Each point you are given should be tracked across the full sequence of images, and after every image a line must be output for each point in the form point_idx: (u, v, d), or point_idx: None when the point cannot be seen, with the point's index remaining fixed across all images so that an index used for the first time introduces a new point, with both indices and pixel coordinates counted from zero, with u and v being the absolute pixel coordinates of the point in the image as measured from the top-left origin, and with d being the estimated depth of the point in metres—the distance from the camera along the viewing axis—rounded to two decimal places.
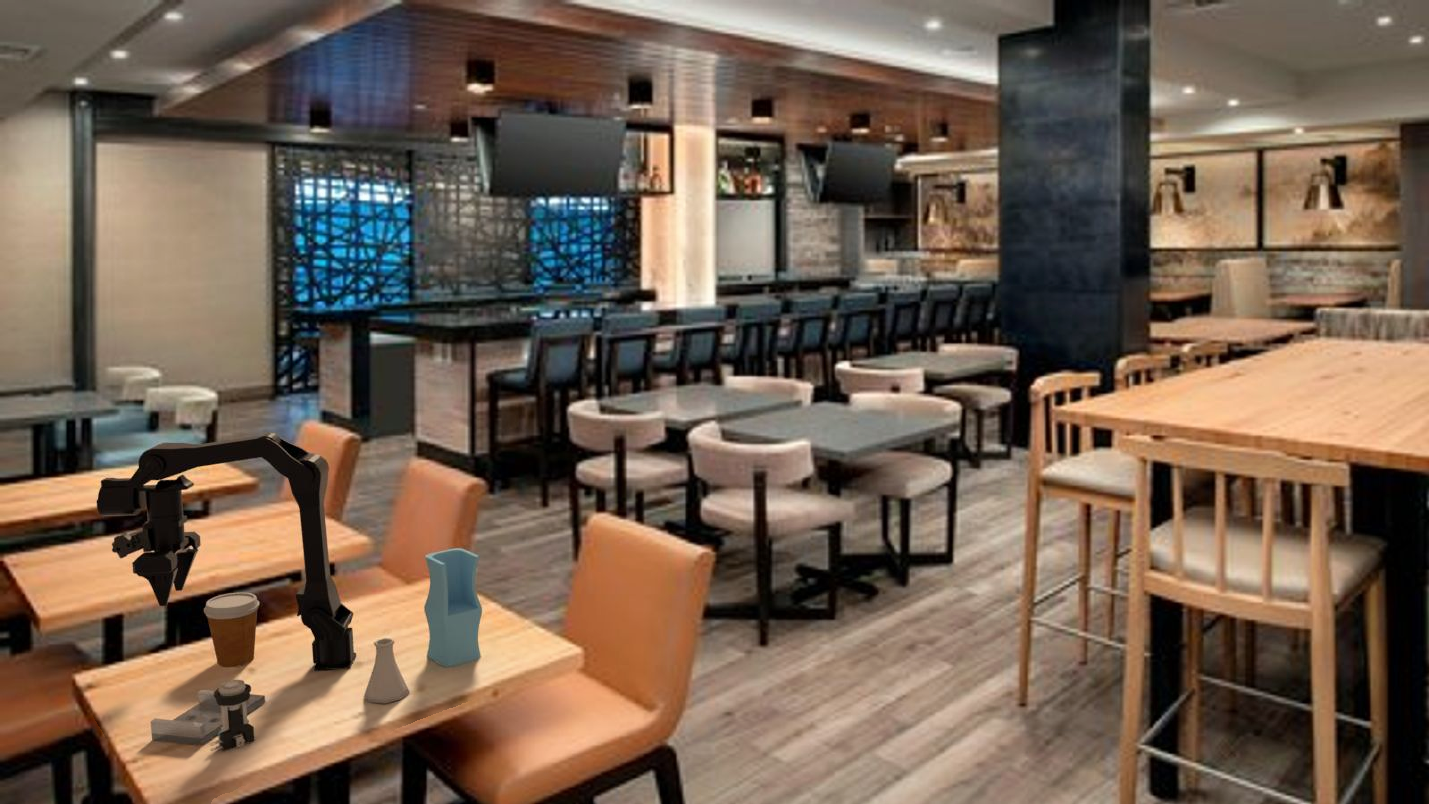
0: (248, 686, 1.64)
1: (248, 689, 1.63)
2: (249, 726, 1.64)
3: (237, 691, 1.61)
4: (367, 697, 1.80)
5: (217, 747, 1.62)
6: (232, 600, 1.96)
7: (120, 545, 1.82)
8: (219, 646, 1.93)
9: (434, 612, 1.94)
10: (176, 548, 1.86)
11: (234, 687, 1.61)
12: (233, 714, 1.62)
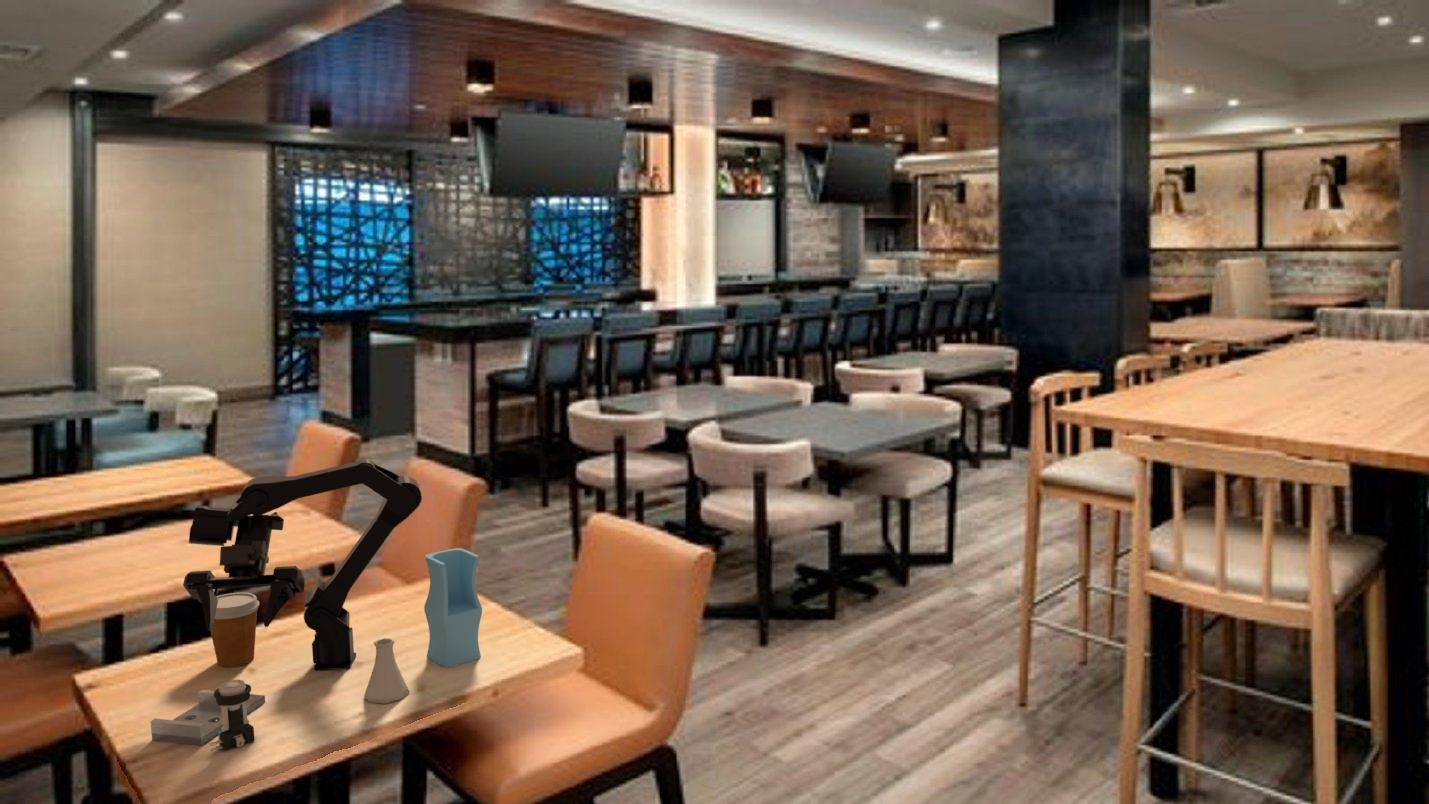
0: (248, 686, 1.64)
1: (248, 689, 1.63)
2: (249, 726, 1.64)
3: (237, 691, 1.61)
4: (367, 697, 1.80)
5: (217, 747, 1.62)
6: (232, 600, 1.96)
7: (263, 550, 1.79)
8: (219, 646, 1.93)
9: (434, 612, 1.94)
10: None
11: (234, 687, 1.61)
12: (233, 714, 1.62)
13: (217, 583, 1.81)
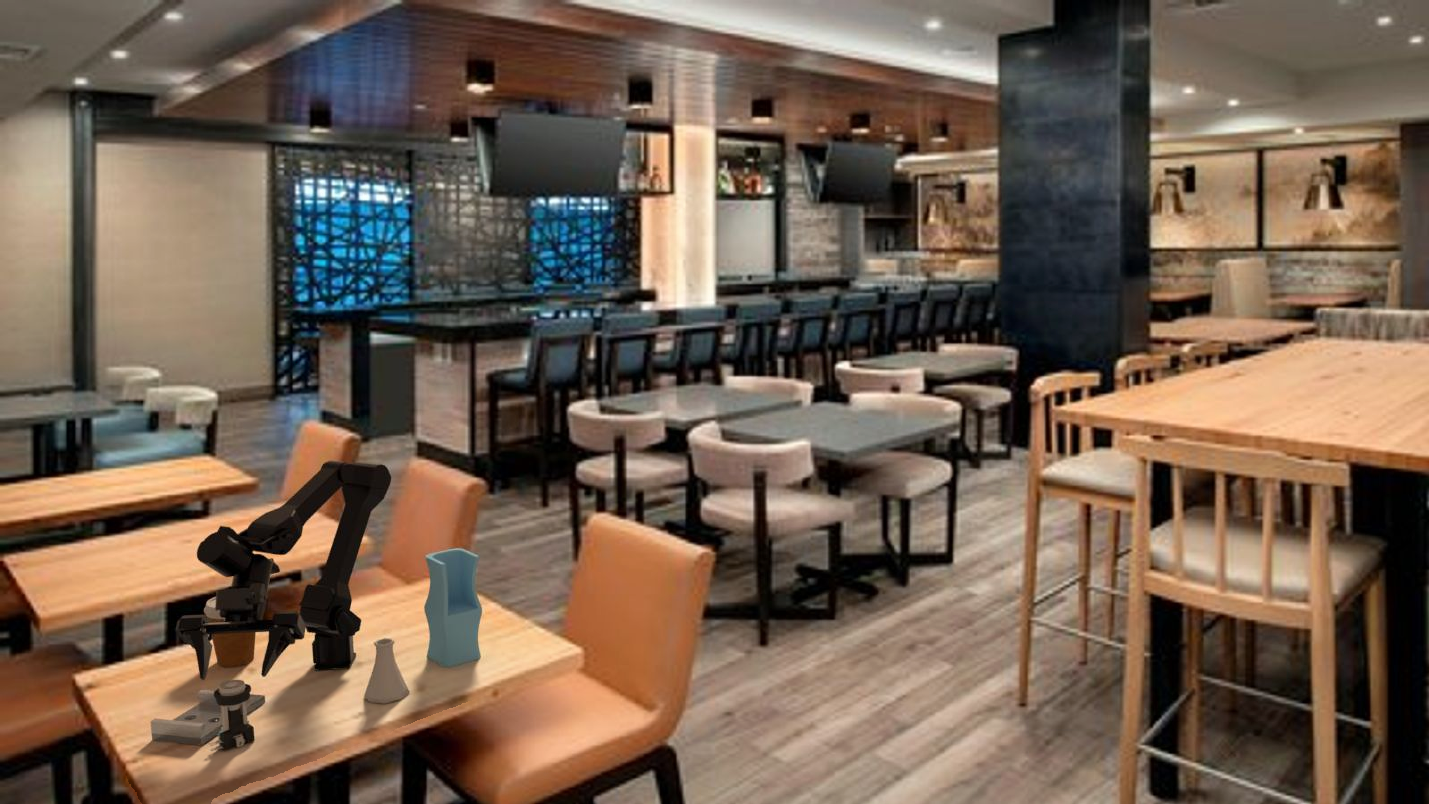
0: (248, 686, 1.64)
1: (248, 689, 1.63)
2: (249, 726, 1.64)
3: (237, 691, 1.61)
4: (367, 697, 1.80)
5: (217, 747, 1.62)
6: None
7: (262, 594, 1.67)
8: (219, 646, 1.93)
9: (434, 612, 1.94)
10: None
11: (234, 687, 1.61)
12: (233, 714, 1.62)
13: (212, 628, 1.69)
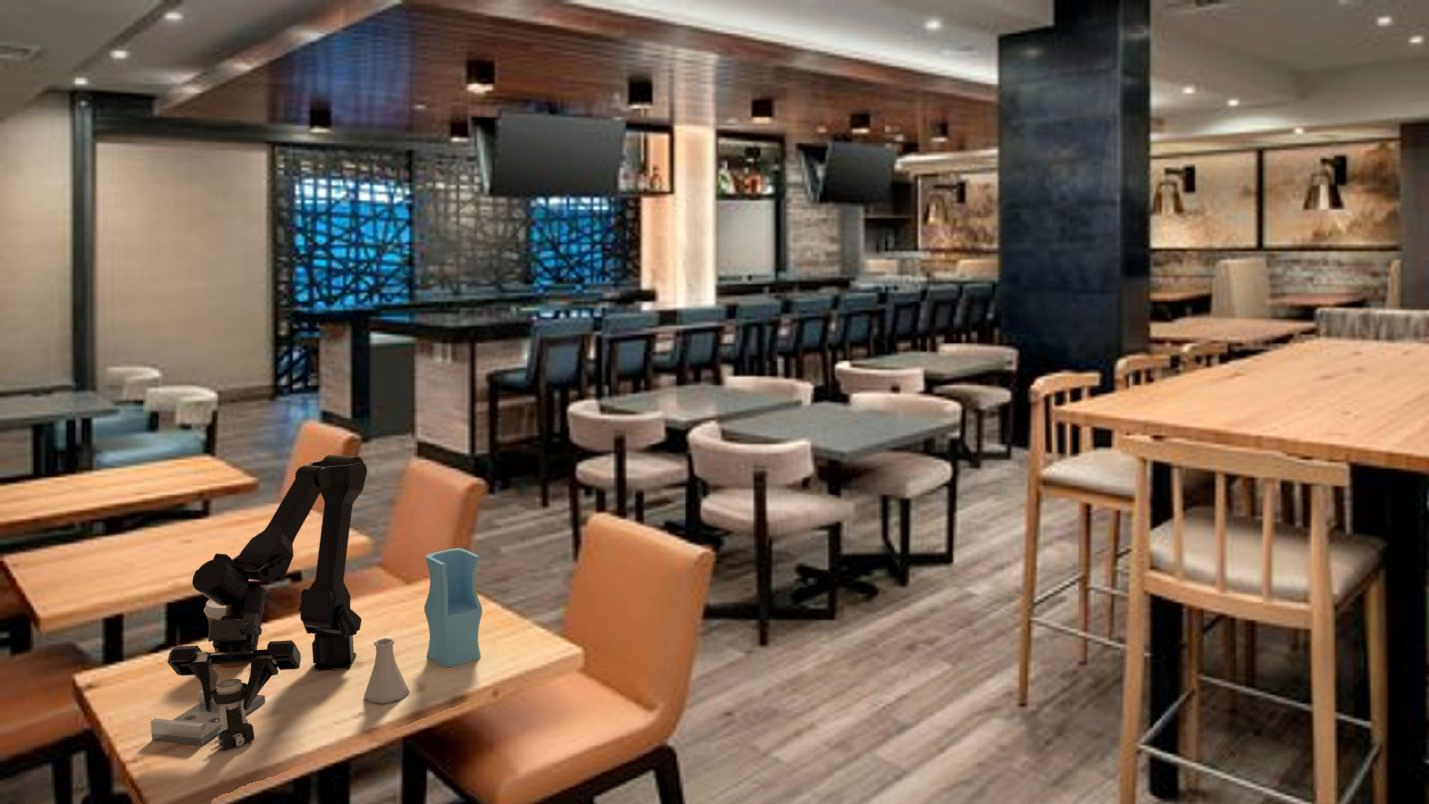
0: (245, 684, 1.64)
1: (245, 687, 1.63)
2: (248, 725, 1.64)
3: (234, 689, 1.62)
4: (367, 697, 1.80)
5: (217, 747, 1.62)
6: None
7: (256, 624, 1.63)
8: None
9: (434, 612, 1.94)
10: None
11: (231, 685, 1.62)
12: (231, 713, 1.62)
13: None
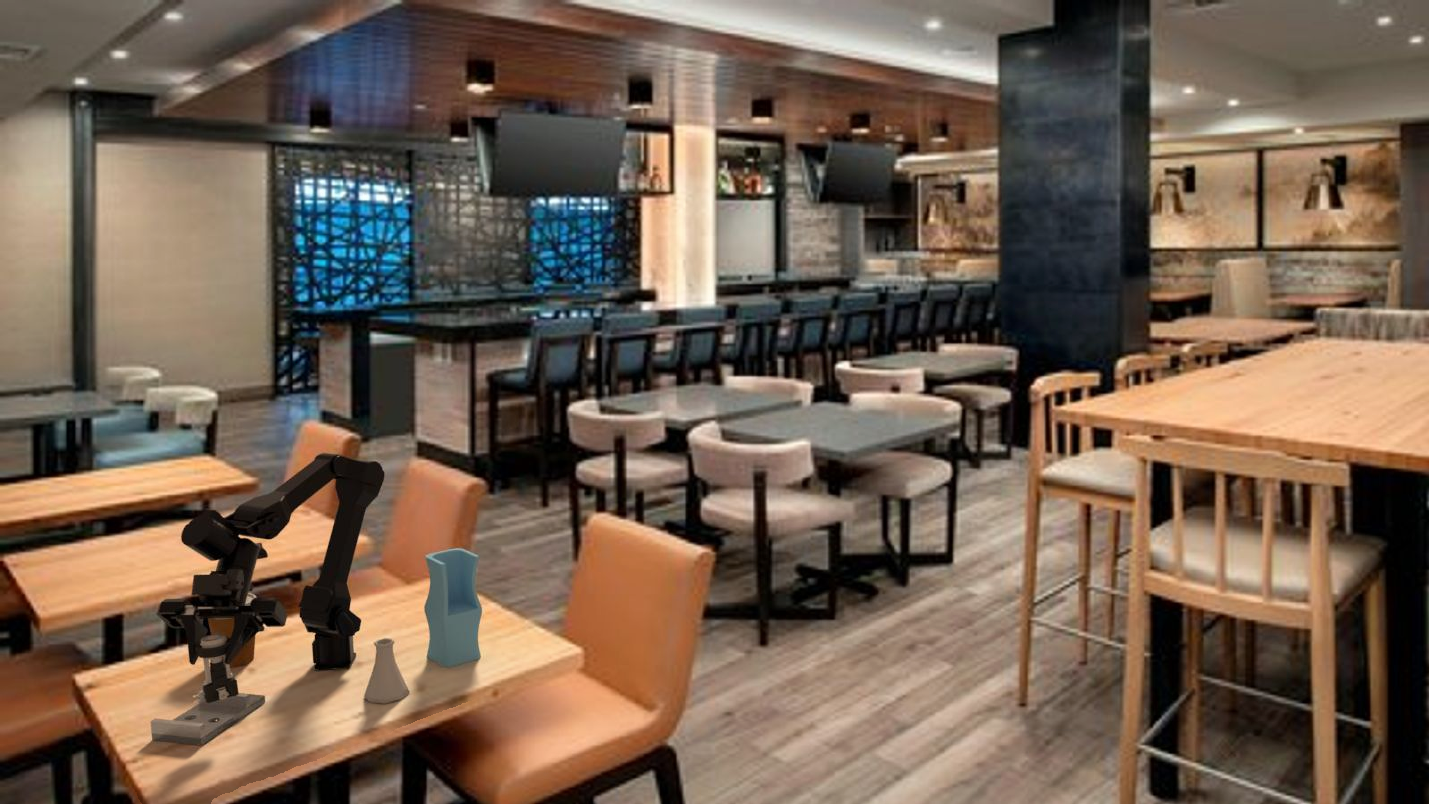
0: None
1: None
2: (232, 679, 1.66)
3: (217, 644, 1.63)
4: (367, 697, 1.80)
5: (200, 699, 1.63)
6: None
7: (239, 580, 1.64)
8: None
9: (434, 612, 1.94)
10: None
11: (214, 640, 1.63)
12: (215, 667, 1.64)
13: None
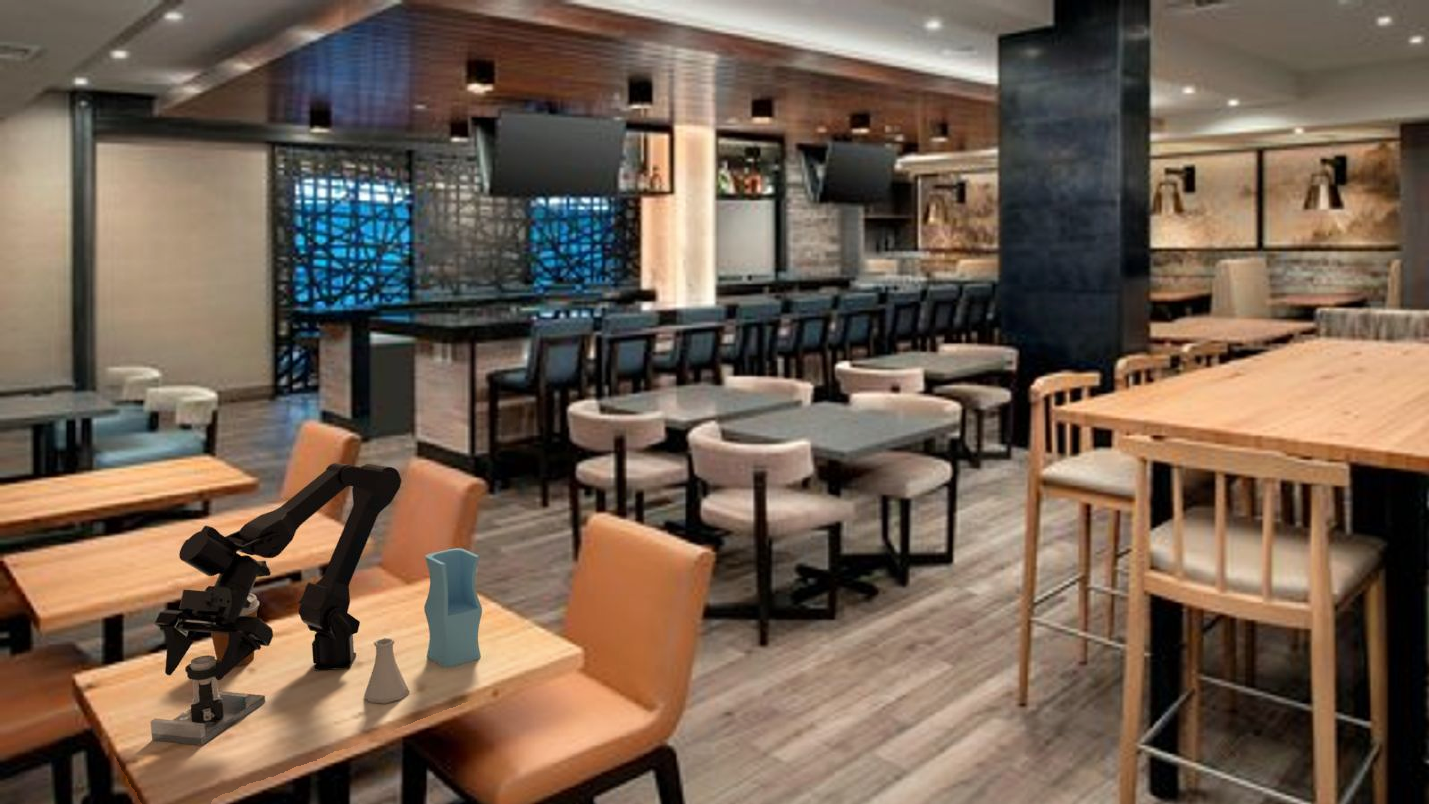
0: (219, 663, 1.70)
1: (216, 666, 1.69)
2: (218, 702, 1.70)
3: (203, 667, 1.68)
4: (367, 697, 1.80)
5: (187, 717, 1.69)
6: None
7: (224, 597, 1.68)
8: (219, 646, 1.93)
9: (434, 612, 1.94)
10: None
11: (201, 663, 1.68)
12: (202, 688, 1.69)
13: (189, 625, 1.73)
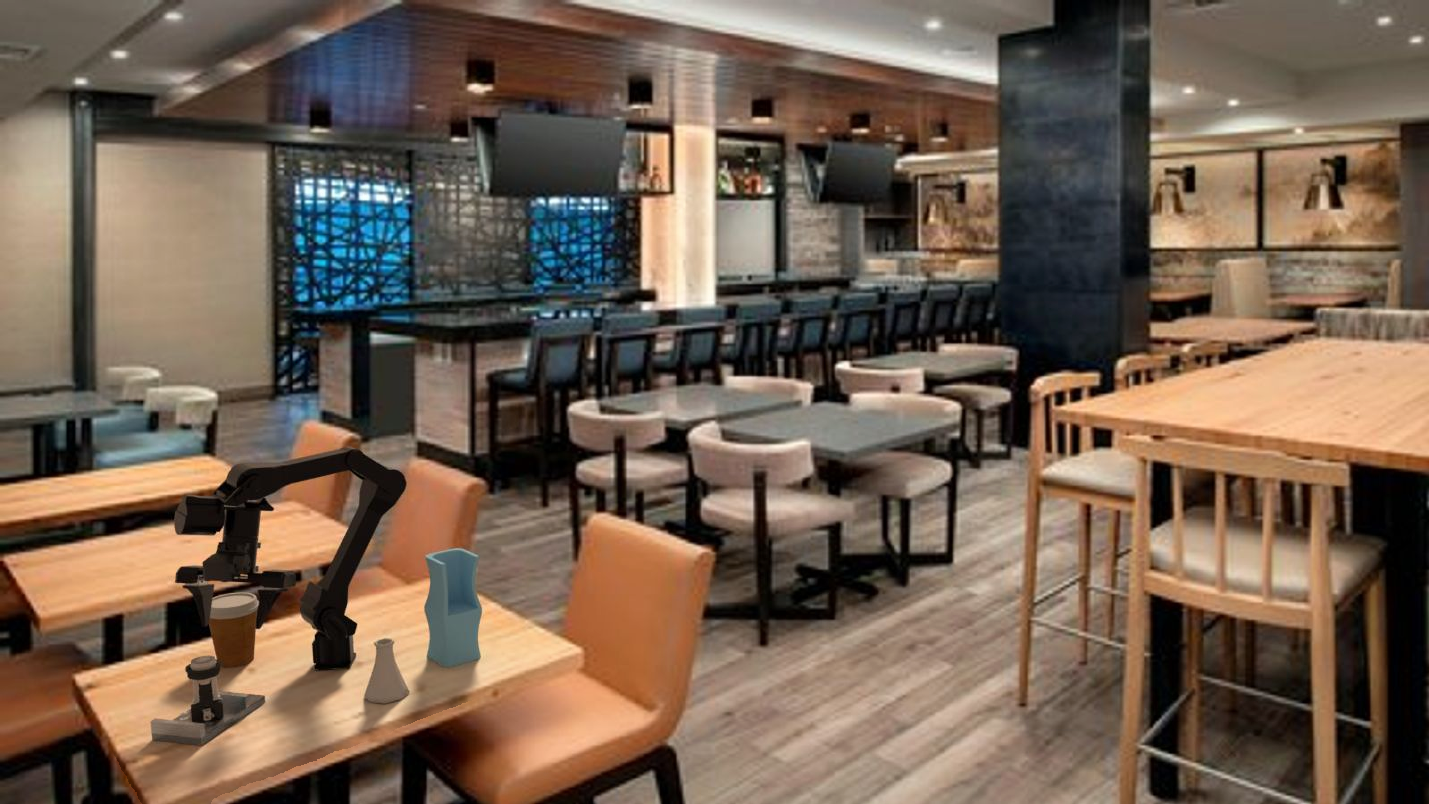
0: (219, 663, 1.70)
1: (216, 666, 1.69)
2: (218, 702, 1.70)
3: (203, 667, 1.68)
4: (367, 697, 1.80)
5: (187, 717, 1.69)
6: (232, 600, 1.96)
7: (246, 564, 1.74)
8: (219, 646, 1.93)
9: (434, 612, 1.94)
10: (256, 570, 1.82)
11: (201, 663, 1.68)
12: (202, 688, 1.69)
13: None
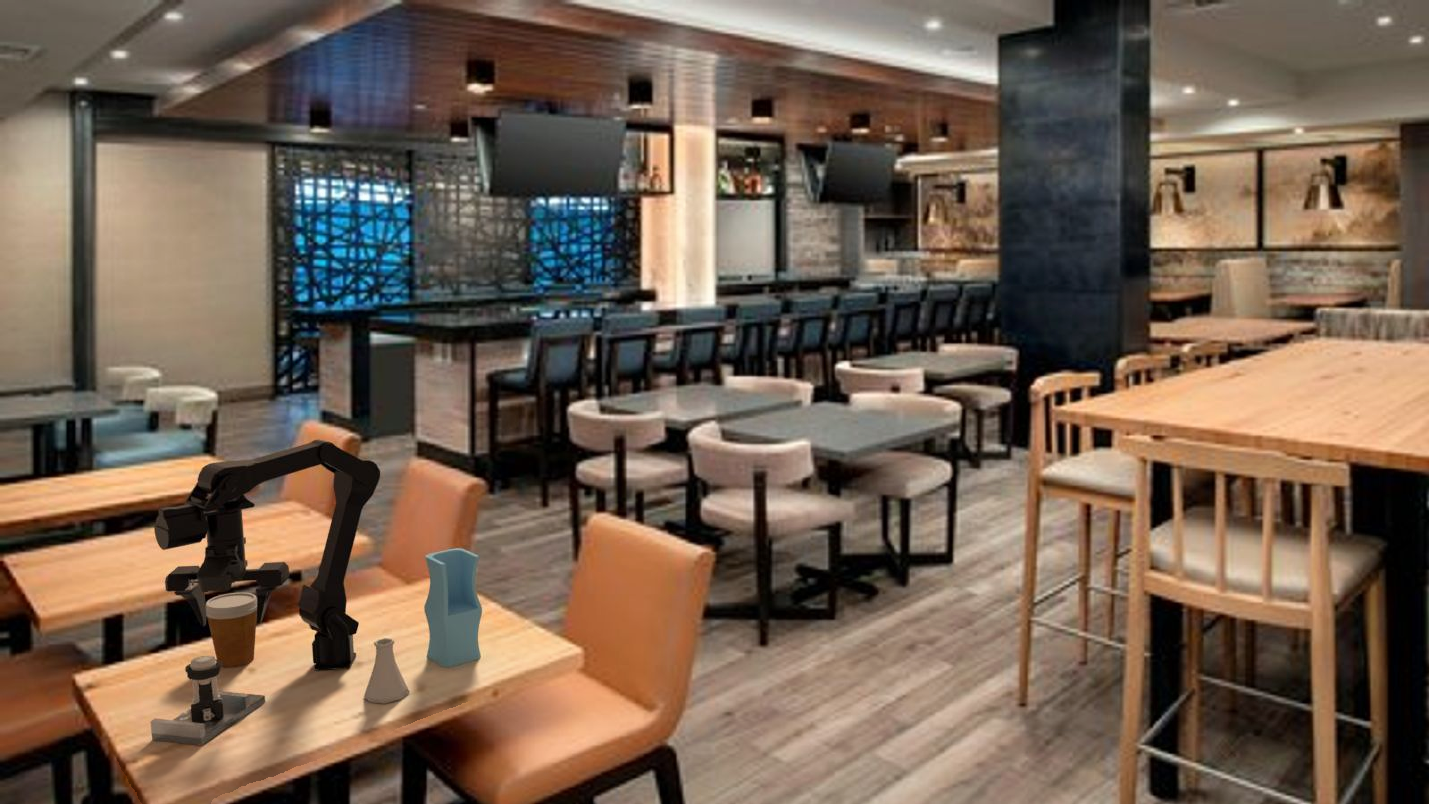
0: (219, 663, 1.70)
1: (216, 666, 1.69)
2: (218, 702, 1.70)
3: (203, 667, 1.68)
4: (367, 697, 1.80)
5: (187, 717, 1.69)
6: (232, 600, 1.96)
7: (241, 571, 1.73)
8: (219, 646, 1.93)
9: (434, 612, 1.94)
10: (246, 565, 1.81)
11: (201, 663, 1.68)
12: (202, 688, 1.69)
13: None
